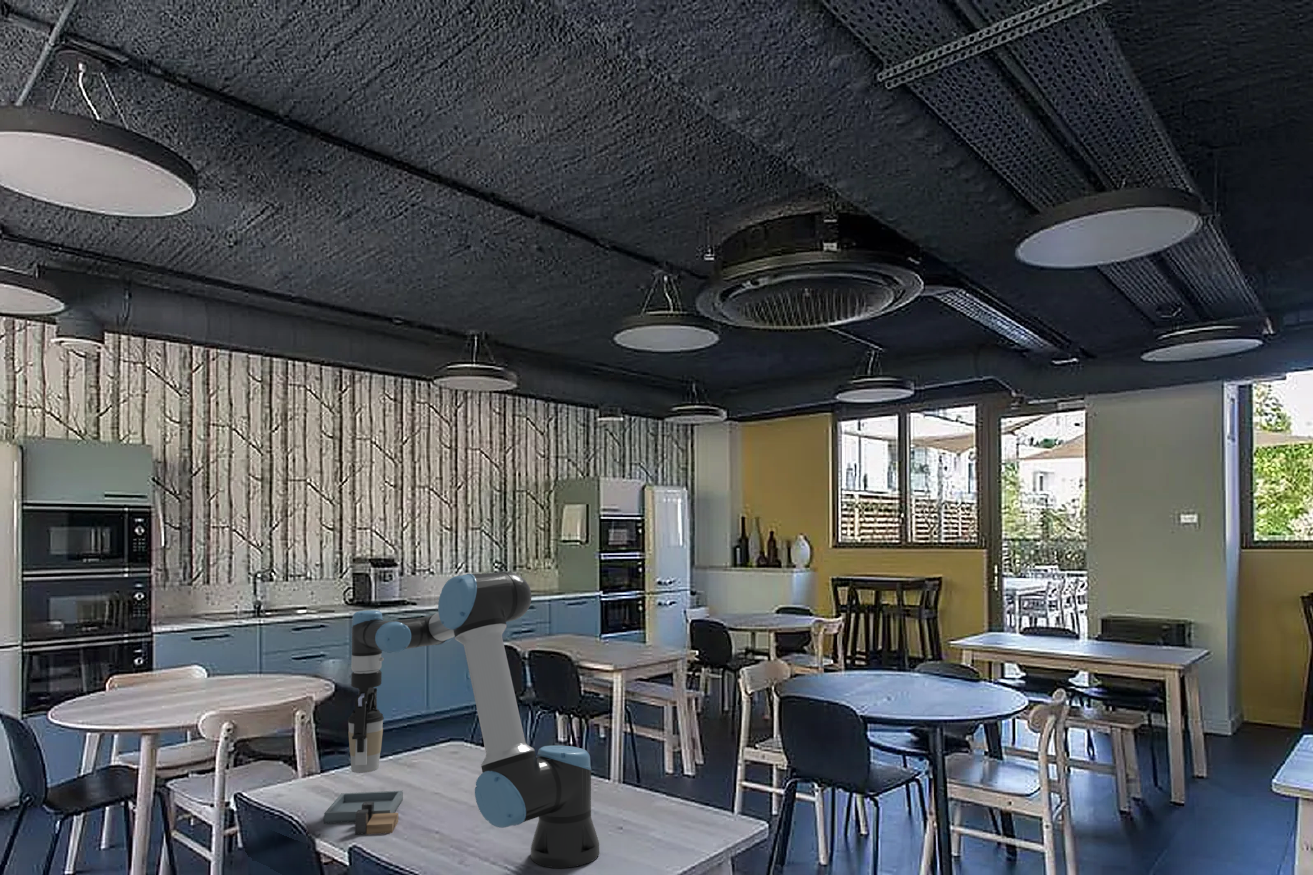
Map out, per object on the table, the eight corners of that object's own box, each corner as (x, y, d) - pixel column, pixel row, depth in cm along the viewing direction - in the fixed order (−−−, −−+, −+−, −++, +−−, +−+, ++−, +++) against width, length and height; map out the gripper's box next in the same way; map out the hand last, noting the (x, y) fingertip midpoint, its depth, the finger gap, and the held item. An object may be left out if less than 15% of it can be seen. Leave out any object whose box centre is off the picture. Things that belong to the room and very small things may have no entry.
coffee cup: (388, 764, 232) (389, 706, 233) (374, 774, 223) (375, 713, 224) (356, 764, 233) (356, 706, 234) (340, 774, 224) (341, 713, 225)
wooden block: (392, 834, 211) (392, 823, 211) (366, 836, 210) (366, 825, 210) (398, 823, 219) (398, 812, 219) (373, 824, 218) (373, 814, 218)
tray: (390, 820, 220) (390, 810, 220) (324, 823, 218) (324, 813, 218) (402, 800, 235) (402, 790, 236) (341, 803, 234) (341, 793, 234)
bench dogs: (365, 834, 210) (365, 812, 210) (355, 834, 210) (355, 813, 210) (373, 822, 218) (373, 801, 219) (363, 822, 218) (364, 802, 219)
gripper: (371, 677, 220) (370, 770, 218) (389, 663, 241) (388, 748, 239) (340, 678, 219) (339, 772, 217) (361, 664, 240) (360, 749, 238)
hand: (365, 759), depth 228 cm, fingers closed on coffee cup, 9 cm apart
